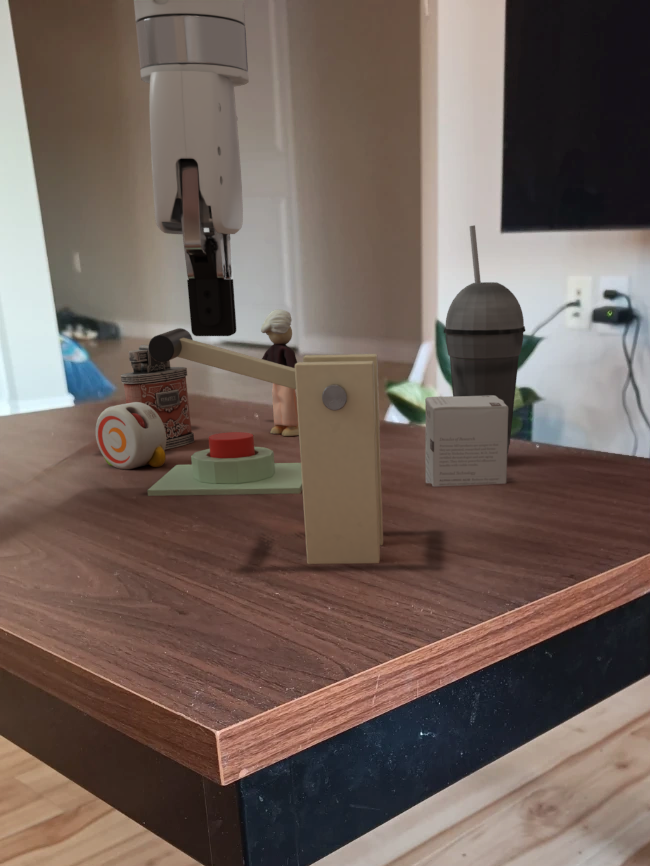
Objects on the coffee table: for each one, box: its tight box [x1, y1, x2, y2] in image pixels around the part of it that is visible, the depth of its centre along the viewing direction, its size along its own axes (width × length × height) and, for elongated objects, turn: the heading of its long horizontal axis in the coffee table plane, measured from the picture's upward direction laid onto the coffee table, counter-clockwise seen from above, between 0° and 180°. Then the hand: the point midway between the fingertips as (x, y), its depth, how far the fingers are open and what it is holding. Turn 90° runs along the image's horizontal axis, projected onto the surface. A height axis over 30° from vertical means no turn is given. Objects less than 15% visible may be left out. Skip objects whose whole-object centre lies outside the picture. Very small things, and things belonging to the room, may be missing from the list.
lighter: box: [120, 344, 195, 450], centre depth 105 cm, size 8×3×10 cm, turn 147°
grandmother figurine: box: [260, 308, 299, 437], centre depth 111 cm, size 8×4×13 cm, turn 49°
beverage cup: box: [443, 224, 526, 455], centre depth 92 cm, size 7×7×20 cm
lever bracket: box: [295, 353, 384, 565], centre depth 62 cm, size 11×8×13 cm
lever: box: [148, 327, 296, 390], centre depth 60 cm, size 12×5×2 cm, turn 88°
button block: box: [146, 446, 303, 497], centre depth 85 cm, size 12×10×4 cm
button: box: [208, 431, 255, 458], centre depth 84 cm, size 4×4×2 cm
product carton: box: [424, 395, 508, 487], centre depth 83 cm, size 6×6×7 cm
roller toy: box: [95, 402, 167, 471], centre depth 97 cm, size 4×6×6 cm
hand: (214, 334), depth 80 cm, fingers closed
